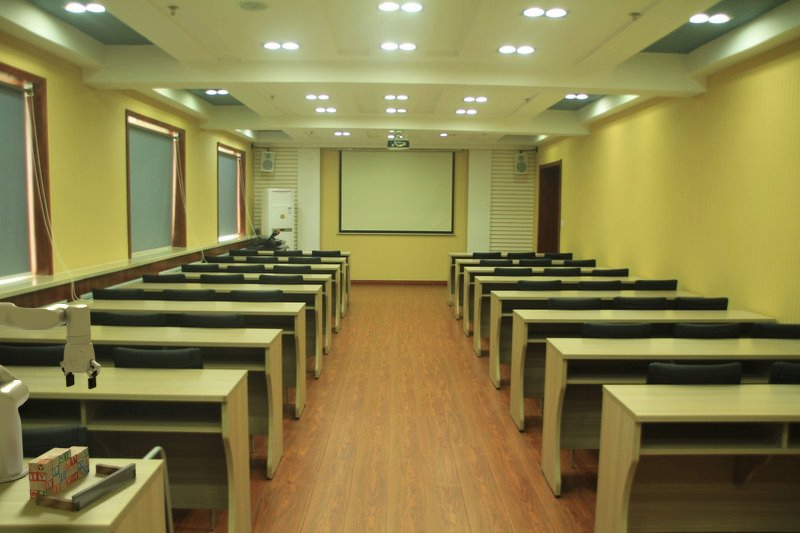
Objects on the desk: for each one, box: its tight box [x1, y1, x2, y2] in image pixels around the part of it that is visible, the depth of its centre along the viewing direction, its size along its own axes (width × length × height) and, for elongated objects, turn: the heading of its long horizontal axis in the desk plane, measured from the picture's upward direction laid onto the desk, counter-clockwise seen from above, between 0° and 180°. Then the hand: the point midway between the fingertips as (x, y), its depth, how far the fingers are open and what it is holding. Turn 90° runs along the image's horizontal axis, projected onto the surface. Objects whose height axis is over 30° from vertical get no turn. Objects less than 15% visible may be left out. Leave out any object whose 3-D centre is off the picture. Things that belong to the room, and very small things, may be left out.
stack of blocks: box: [27, 446, 91, 499], centre depth 207 cm, size 21×6×12 cm, turn 172°
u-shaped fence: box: [34, 462, 137, 513], centre depth 202 cm, size 16×26×5 cm, turn 163°
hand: (81, 387), depth 216 cm, fingers open, 9 cm apart
